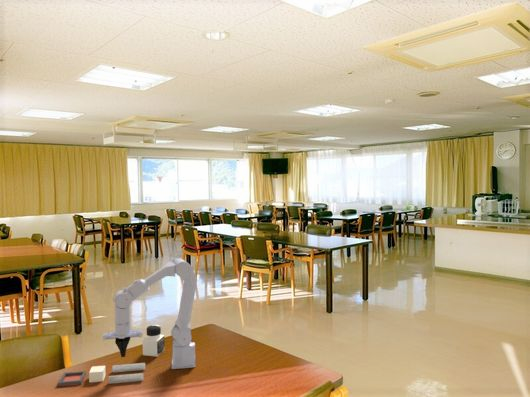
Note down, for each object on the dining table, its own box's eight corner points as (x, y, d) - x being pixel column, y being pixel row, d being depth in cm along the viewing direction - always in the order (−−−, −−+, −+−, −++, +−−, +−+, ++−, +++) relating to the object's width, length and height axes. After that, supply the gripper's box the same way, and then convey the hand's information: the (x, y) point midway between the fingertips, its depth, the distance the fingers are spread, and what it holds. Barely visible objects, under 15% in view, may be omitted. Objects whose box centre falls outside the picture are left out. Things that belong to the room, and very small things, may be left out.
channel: (145, 368, 167) (145, 362, 167) (143, 380, 157) (142, 374, 157) (112, 371, 164) (112, 365, 164) (108, 383, 154) (108, 377, 154)
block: (105, 375, 161) (105, 365, 161) (103, 381, 156) (103, 371, 156) (92, 376, 160) (91, 366, 160) (89, 382, 155) (89, 372, 155)
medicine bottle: (157, 357, 178) (157, 329, 177) (142, 355, 179) (142, 328, 179) (164, 350, 185) (164, 324, 184) (150, 348, 186) (150, 322, 186)
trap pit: (86, 374, 162) (85, 370, 162) (81, 384, 154) (81, 380, 154) (64, 376, 160) (64, 372, 160) (58, 386, 152) (58, 382, 152)
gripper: (101, 327, 154) (101, 362, 155) (141, 324, 157) (141, 358, 157) (104, 320, 161) (105, 354, 161) (142, 317, 164) (143, 351, 164)
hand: (123, 356), depth 160 cm, fingers closed
